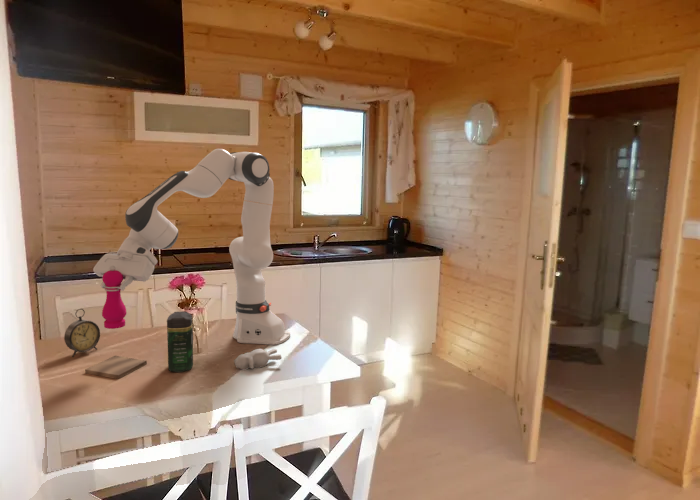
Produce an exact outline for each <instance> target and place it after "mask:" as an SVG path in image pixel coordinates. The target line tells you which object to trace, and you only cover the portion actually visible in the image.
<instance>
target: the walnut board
mask: <svg viewBox="0 0 700 500" xmlns="http://www.w3.org/2000/svg"><path fill="white" fill-rule="evenodd" d="M147 364H148V361H147V360H145V359H140V358H135V357H134V358H133V357H127V356H121V355H120V356H119V355H113V356H112V357H109V358H106V359H104V360H102V361H100V362H99V363H96V364H94V365H92V366H90V367H88V368H85V369H84V370H85V371H84V373H85V374H90V375H94V376H95V375H96V376H100V377H105V378H106V377H107V378H112V379H117V380H120V379H121V378H123V377H125V376H127V375H129V374H131V373H133V372H134V371H136V370H138V369H140V368H142V367H144V366H146V365H147Z"/></svg>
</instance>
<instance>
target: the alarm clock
mask: <svg viewBox="0 0 700 500" xmlns="http://www.w3.org/2000/svg"><path fill="white" fill-rule="evenodd" d="M79 310H82V312H83V315H81V316H78V315H77V313H78V311H79ZM74 313H75V315H74V316H75V317H76V318H77V319H78V320H75V321H73V322H72V323H70V324H69V325H68V327H67V328H66V329H65V332H64V337H63V338H64V343H65V345H66V347H68V348H69V349H70V350H71V351H73V352H72V353H73V354H72V355H71V358H74V357H75V355H76V354H77V352H79V353H87V352H89V351H91V350H92V349H94V350H96V351H97V350H98V347H96V345H98V343H99V341H100V338H101V330H100V327H99V325H98V324H97V323H96V322H94V321H92V320H88V319H83V317H84V315H85V313H86V311H85V310H84V309H83V308H78V309H77V310H76V312H74Z"/></svg>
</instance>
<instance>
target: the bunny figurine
mask: <svg viewBox="0 0 700 500" xmlns="http://www.w3.org/2000/svg"><path fill="white" fill-rule="evenodd" d="M277 352H278V349H276V348H272V349H270V350H268V351H266V350H264V349H263V348H256V349H253V350H252V351H250V352H245V353H244V354H243V353H241V354H239V355H238V356H237V357H236V358H235V359H233V363H234V366H235V368H236V369H240V370H243V371H245V370H248V369H249V368H250V369H251V370H252V369H254V368H262V367H265V366H267V364H268V363H269V361H279V360H282V358H283V357H282V354H276V353H277Z"/></svg>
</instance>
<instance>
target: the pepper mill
mask: <svg viewBox="0 0 700 500" xmlns="http://www.w3.org/2000/svg"><path fill="white" fill-rule="evenodd" d="M109 269H110V271H107V272H105V273H104V275H103V277H102V282H104V283H105V284H106V285H105V288H104V291H105V292H106V298H105V302H104V305H103V307H102V309H101V311H102V312H101V316H102V318H103V319H104V321H103V326H104V329H107V330H110V329H111V330H112V329H113V330H114V329H116V330H117V329H121V328H124V327H125V326H126V319H125V317H126V316H127V308H126V305H125V304H124V302H123V300H122V296H121V292H122V291H121V290H119V289H117V286H118V285H119V283H122V282H123V281H124V279H123V275H122V274H121V272H119V271H117V270H115V269H116V268H115V266H110V268H109Z"/></svg>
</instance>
